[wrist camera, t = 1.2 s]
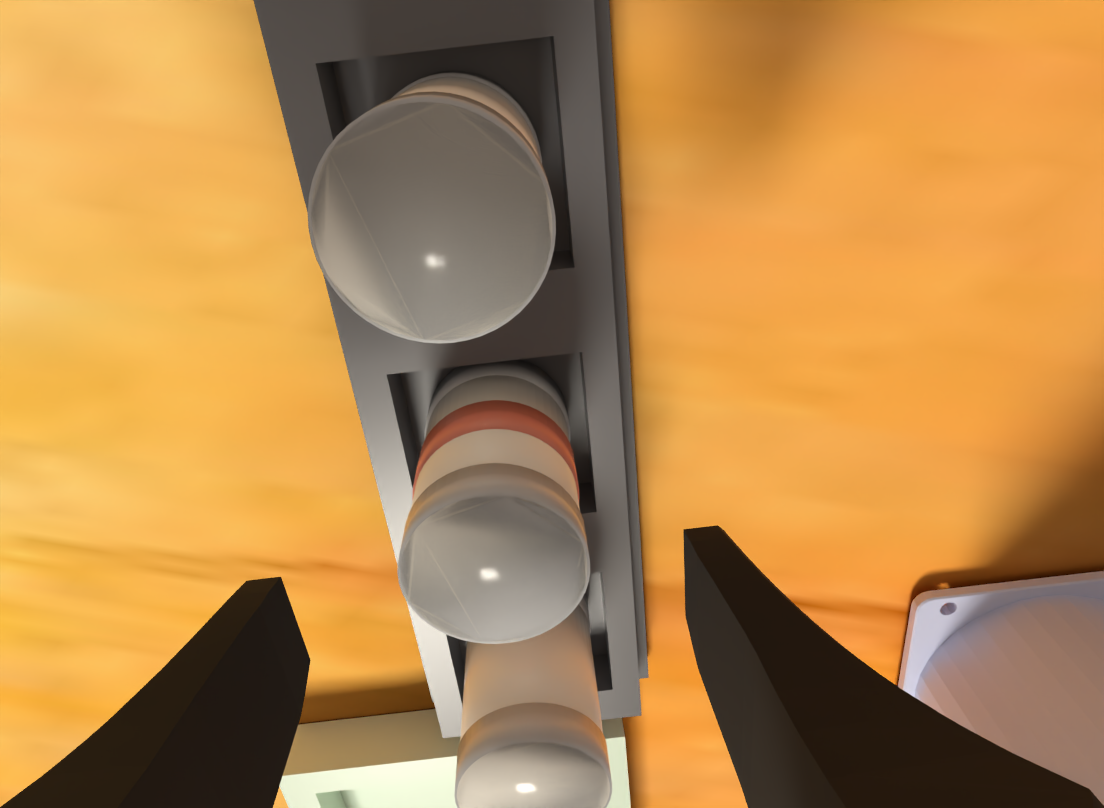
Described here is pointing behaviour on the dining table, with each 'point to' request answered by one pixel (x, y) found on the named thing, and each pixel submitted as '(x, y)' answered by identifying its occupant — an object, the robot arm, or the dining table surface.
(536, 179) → the fuse
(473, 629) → the fuse marked
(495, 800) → the fuse
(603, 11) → the fuse block
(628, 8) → the dining table surface
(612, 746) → the tray
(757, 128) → the dining table surface
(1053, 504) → the dining table surface
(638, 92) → the dining table surface
